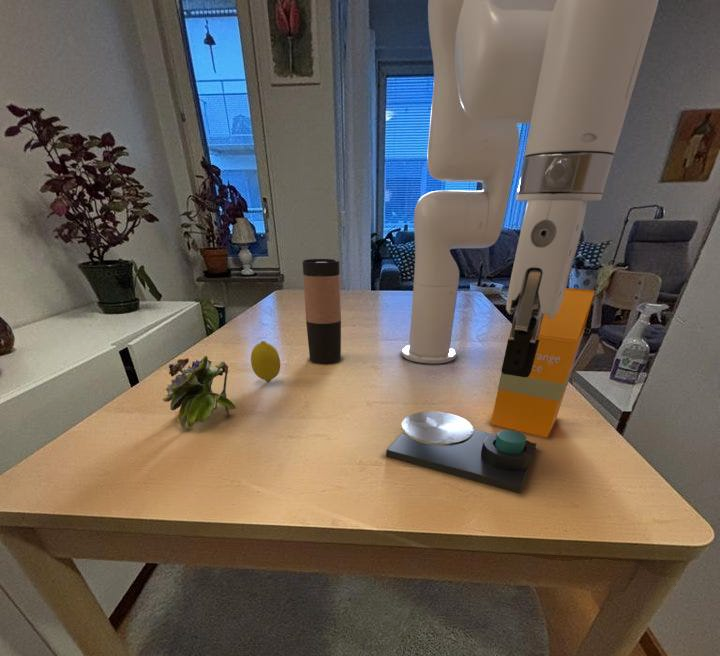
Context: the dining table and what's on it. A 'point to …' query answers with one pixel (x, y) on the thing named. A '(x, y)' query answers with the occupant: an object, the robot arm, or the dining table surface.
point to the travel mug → (323, 309)
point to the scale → (469, 459)
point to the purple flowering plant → (196, 390)
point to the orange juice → (545, 370)
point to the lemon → (265, 361)
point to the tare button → (510, 441)
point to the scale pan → (437, 428)
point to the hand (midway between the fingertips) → (515, 373)
